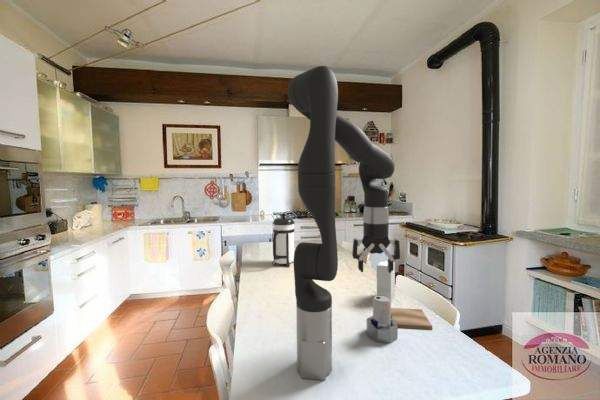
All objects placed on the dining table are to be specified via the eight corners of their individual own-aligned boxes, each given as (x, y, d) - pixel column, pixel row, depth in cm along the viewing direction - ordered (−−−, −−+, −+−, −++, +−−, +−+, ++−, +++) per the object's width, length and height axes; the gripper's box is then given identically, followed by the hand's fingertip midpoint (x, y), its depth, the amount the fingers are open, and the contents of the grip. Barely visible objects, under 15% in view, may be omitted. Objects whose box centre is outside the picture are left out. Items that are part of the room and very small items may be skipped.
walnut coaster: (432, 329, 91) (432, 326, 91) (394, 327, 93) (394, 324, 93) (421, 312, 103) (421, 309, 103) (388, 310, 105) (388, 307, 105)
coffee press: (267, 261, 169) (266, 212, 167) (292, 259, 174) (292, 211, 171) (273, 270, 152) (272, 216, 150) (301, 267, 157) (300, 214, 155)
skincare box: (391, 303, 111) (391, 267, 109) (375, 300, 114) (376, 264, 112) (395, 295, 118) (395, 261, 117) (380, 293, 121) (381, 259, 120)
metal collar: (399, 343, 84) (399, 330, 83) (368, 341, 85) (368, 329, 85) (393, 327, 93) (393, 316, 92) (365, 326, 94) (365, 314, 94)
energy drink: (377, 328, 93) (377, 293, 92) (392, 333, 89) (393, 297, 88) (370, 335, 88) (370, 298, 88) (386, 341, 85) (386, 303, 84)
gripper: (353, 223, 83) (353, 275, 85) (402, 223, 82) (401, 276, 83) (351, 218, 91) (351, 267, 92) (396, 218, 89) (396, 268, 91)
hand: (375, 271), depth 88 cm, fingers open, 8 cm apart
